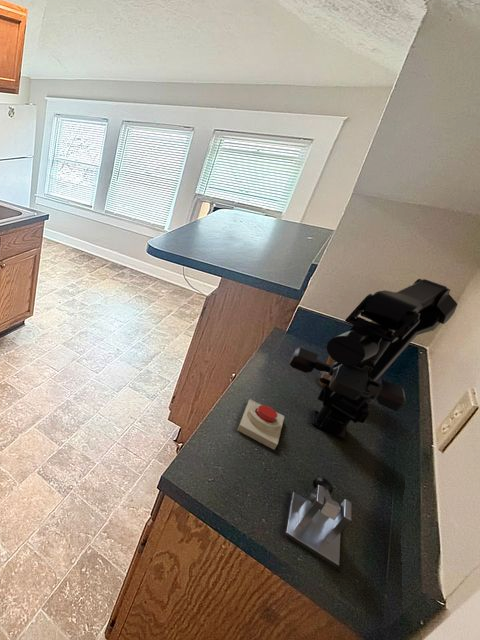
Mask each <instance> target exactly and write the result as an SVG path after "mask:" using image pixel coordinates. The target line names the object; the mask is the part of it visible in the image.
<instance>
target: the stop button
mask: <svg viewBox="0 0 480 640" xmlns="http://www.w3.org/2000/svg"><path fill="white" fill-rule="evenodd" d="M260 405H261V406H259V407H258V409H257V411H256V414H257V416H258V417H260V418H261V419H262V420H264V421H266V422H270V423H272V422H274V421H275V419H276V418H277V413H278V412H277V413H276V410H275V409H274V408H272V407H270V406H268V405H264V404H260Z"/></svg>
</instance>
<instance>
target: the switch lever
mask: <svg viewBox="0 0 480 640" xmlns="http://www.w3.org/2000/svg"><path fill="white" fill-rule="evenodd" d="M318 485H320V486H322V487H324V488H325V492H324V503H323V506H322V507H321V508H320V512H321V513H323V514H324V515H326V516H328V517H329V518H331V519H333V520H335V519H336V518H337V516H338V514H339V512H340V511H341V508H340V503H339V502H338V501H336V500H334V499H332V497H331V494H332V493H333V492H334V486H333V484H332V483H331V482H330V480H329V479H327V478H325V477H318V476H317V477H315V478H313V480H312V487H313V489H314V490H315V489H316V487H317V486H318Z"/></svg>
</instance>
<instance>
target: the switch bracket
mask: <svg viewBox="0 0 480 640" xmlns="http://www.w3.org/2000/svg"><path fill="white" fill-rule="evenodd" d="M324 492H325V488H324V487H322V486H320V485H318V486H317V487H316V489H314V490H313V491H312V493H310V494H309V495H308V498H305V497H304V496H301V495H299V494H298V493H297V492H294V491H292V493H291V495H290V501H289V506H288V512H287V518H286V523H285V530H284V536H285V537H287V538H288V539H291V540H292V541H294V543H296V544H298V545H299V546H302V547H303V548H305V549H306V550H307V551H309V552H311V553H313V554H314V555H315V556H317V557H318V558H320V559H322V560H323V561H325V562H327V564H330V565H331V566H333V567H335V568H336V569H337V568H338V567H340V559H341V558H340V556H341V555H340V554H341V552H340V551H341V533H342V531H343V530H345V528H346V527H347V526H348V524H350V523H351V521H352V519H353V517H352V501H349V500H348V499H343V501H342V502H341V503H339V506H340V508H341V511H340V512H339V514H338V516H337V518H336V519H335V520H333V519H331V518H329V517H328V516H326V515H324V514H323V513H321V512H320V508H321V507H322V506H323V503H324Z"/></svg>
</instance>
